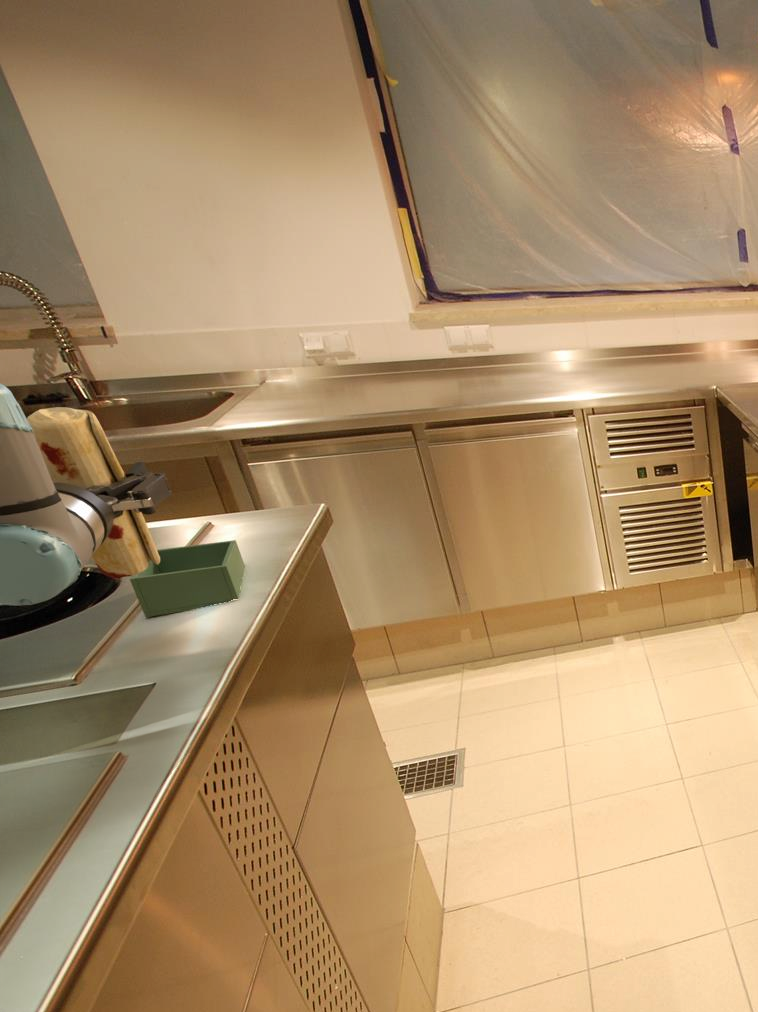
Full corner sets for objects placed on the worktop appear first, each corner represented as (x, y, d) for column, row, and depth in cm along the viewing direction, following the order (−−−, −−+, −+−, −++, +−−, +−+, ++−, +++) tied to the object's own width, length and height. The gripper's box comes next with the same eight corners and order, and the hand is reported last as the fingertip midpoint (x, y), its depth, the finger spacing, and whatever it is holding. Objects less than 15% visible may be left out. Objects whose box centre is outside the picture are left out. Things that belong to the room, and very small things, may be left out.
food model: (95, 563, 105) (17, 403, 96) (164, 551, 109) (96, 396, 100) (93, 590, 99) (9, 422, 90) (167, 577, 103) (94, 414, 93)
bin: (145, 617, 114) (129, 579, 112) (161, 586, 124) (147, 550, 122) (239, 602, 120) (226, 566, 117) (248, 574, 130) (235, 539, 127)
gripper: (-66, 576, 83) (6, 516, 100) (191, 545, 93) (216, 495, 110) (-105, 502, 80) (-24, 453, 97) (166, 479, 90) (196, 438, 107)
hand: (104, 476), depth 103 cm, fingers closed on food model, 7 cm apart
